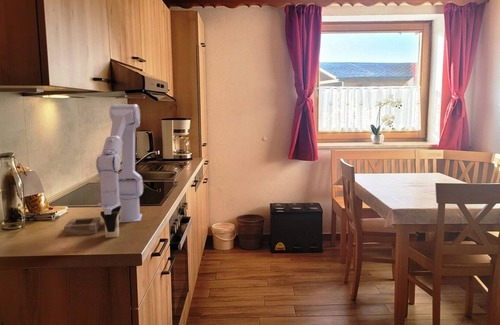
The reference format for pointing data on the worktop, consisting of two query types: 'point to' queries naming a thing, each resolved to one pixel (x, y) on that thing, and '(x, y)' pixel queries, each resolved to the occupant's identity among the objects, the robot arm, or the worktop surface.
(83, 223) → the walnut holder
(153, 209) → the worktop surface
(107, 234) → the birch post
